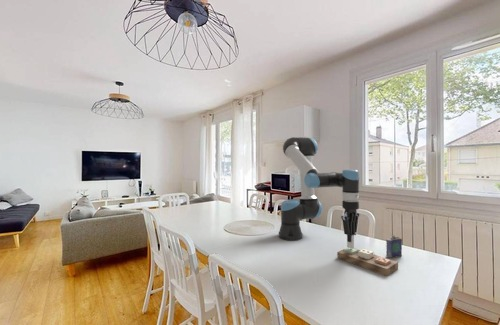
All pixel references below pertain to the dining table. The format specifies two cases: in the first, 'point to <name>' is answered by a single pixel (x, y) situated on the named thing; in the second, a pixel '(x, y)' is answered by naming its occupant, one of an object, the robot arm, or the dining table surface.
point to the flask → (394, 247)
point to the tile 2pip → (366, 254)
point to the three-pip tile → (383, 261)
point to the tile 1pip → (351, 251)
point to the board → (368, 262)
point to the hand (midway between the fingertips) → (350, 247)
